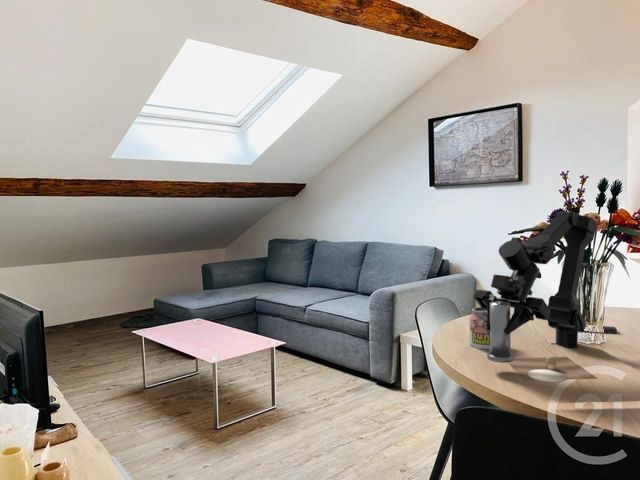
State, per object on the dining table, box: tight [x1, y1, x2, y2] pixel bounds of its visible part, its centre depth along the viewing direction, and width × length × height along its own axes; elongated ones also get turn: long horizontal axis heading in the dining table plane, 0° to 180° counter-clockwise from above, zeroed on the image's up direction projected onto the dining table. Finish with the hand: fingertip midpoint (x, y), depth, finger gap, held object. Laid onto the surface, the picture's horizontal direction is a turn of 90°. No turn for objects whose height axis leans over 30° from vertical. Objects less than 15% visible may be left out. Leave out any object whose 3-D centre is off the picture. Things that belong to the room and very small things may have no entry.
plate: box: [507, 356, 599, 383], centre depth 125 cm, size 18×17×1 cm
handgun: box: [549, 325, 618, 335], centre depth 165 cm, size 2×19×12 cm
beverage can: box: [468, 306, 490, 350], centre depth 145 cm, size 9×8×12 cm
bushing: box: [486, 301, 515, 364], centre depth 123 cm, size 6×6×14 cm
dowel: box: [545, 355, 557, 370], centre depth 124 cm, size 2×2×3 cm
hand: (496, 331), depth 122 cm, fingers closed on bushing, 5 cm apart
